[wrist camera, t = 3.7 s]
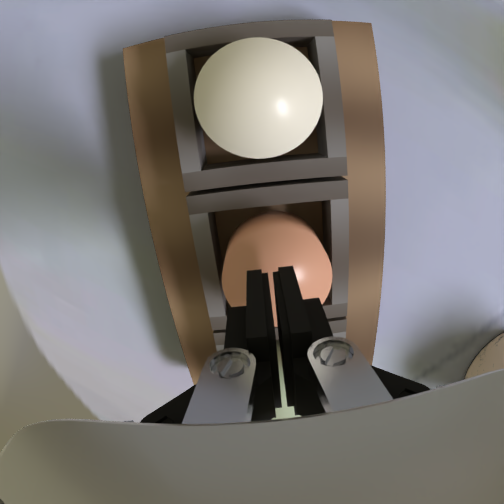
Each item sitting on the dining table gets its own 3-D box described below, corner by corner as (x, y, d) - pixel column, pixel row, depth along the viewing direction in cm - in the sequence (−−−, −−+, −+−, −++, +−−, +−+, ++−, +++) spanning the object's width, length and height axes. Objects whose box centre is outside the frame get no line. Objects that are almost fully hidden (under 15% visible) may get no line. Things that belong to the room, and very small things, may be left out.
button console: (142, 58, 15) (106, 40, 10) (353, 36, 14) (386, 12, 10) (203, 371, 23) (195, 420, 19) (358, 354, 23) (376, 401, 18)
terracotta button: (219, 216, 14) (213, 235, 12) (318, 206, 14) (331, 222, 12) (233, 302, 16) (230, 331, 14) (321, 292, 16) (331, 320, 13)
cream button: (198, 59, 11) (187, 46, 9) (304, 48, 11) (314, 34, 9) (211, 158, 13) (202, 166, 11) (315, 147, 13) (327, 153, 11)
